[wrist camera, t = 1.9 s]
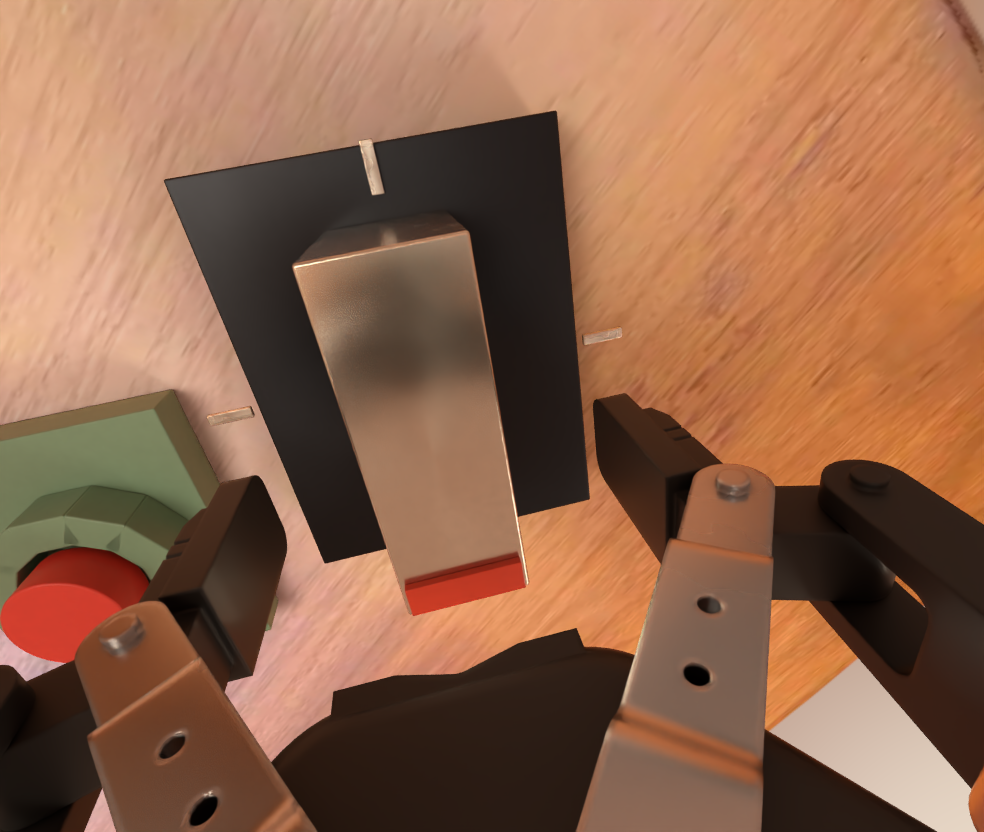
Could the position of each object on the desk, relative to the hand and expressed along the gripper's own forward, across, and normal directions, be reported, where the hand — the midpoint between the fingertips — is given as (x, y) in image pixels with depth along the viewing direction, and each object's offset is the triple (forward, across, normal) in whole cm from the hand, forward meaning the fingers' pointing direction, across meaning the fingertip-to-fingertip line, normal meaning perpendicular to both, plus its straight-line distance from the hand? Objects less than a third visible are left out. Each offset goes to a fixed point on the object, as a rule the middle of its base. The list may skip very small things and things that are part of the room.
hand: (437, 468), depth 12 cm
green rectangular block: (+8, +13, +5) cm, 16 cm away
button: (+5, +13, +5) cm, 15 cm away
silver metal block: (+6, 0, 0) cm, 6 cm away
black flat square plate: (+8, 0, 0) cm, 8 cm away
